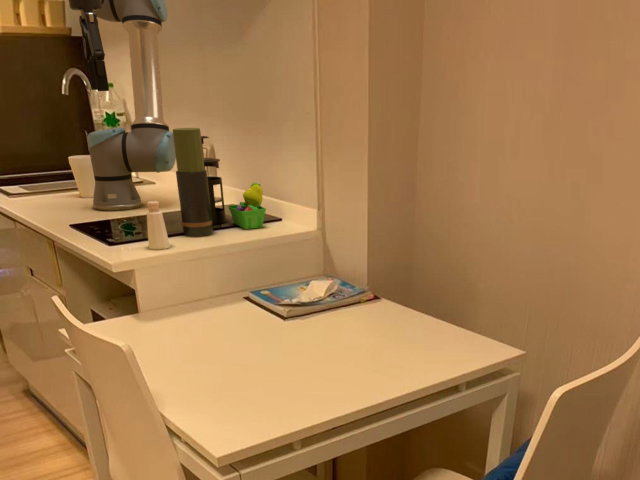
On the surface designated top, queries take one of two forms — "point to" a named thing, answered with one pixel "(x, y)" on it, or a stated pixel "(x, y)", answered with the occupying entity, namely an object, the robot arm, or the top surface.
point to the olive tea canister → (188, 150)
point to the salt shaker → (156, 227)
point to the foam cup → (83, 174)
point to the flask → (195, 203)
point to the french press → (216, 213)
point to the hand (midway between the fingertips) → (100, 90)
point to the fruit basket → (249, 209)
